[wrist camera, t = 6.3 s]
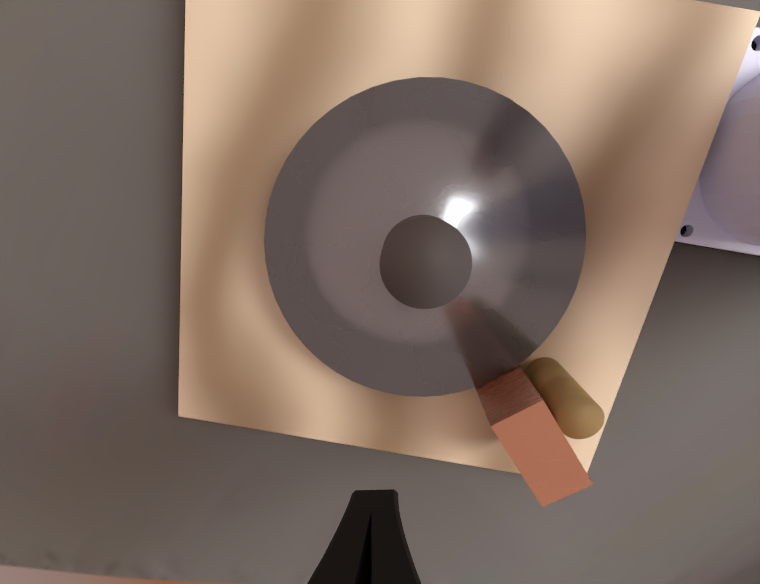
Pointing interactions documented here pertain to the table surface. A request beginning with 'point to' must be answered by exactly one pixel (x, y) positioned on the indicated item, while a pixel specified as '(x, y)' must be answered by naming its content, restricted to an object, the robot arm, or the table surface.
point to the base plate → (504, 45)
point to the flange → (464, 212)
